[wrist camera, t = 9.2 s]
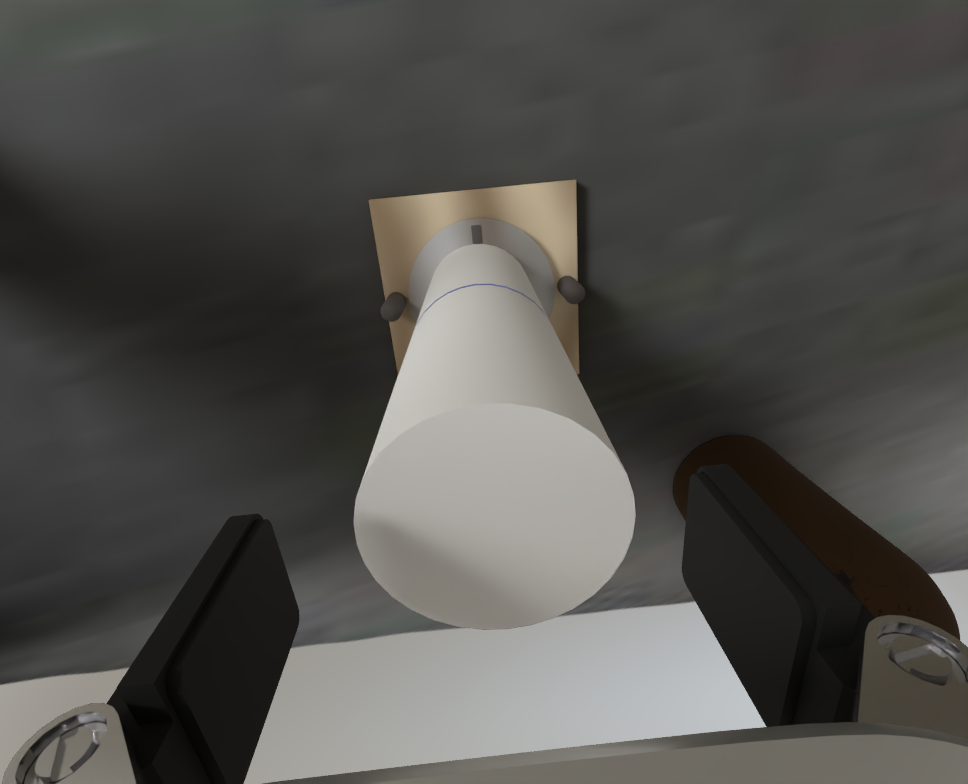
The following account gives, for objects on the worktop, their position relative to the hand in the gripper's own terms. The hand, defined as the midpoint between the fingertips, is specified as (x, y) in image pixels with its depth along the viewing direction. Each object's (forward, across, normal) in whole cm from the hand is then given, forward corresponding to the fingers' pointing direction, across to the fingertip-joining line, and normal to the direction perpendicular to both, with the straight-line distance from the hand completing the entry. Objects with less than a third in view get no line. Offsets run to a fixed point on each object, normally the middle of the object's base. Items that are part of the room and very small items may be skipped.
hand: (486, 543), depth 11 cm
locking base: (+28, -1, 0) cm, 28 cm away
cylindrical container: (+27, -1, 0) cm, 27 cm away
